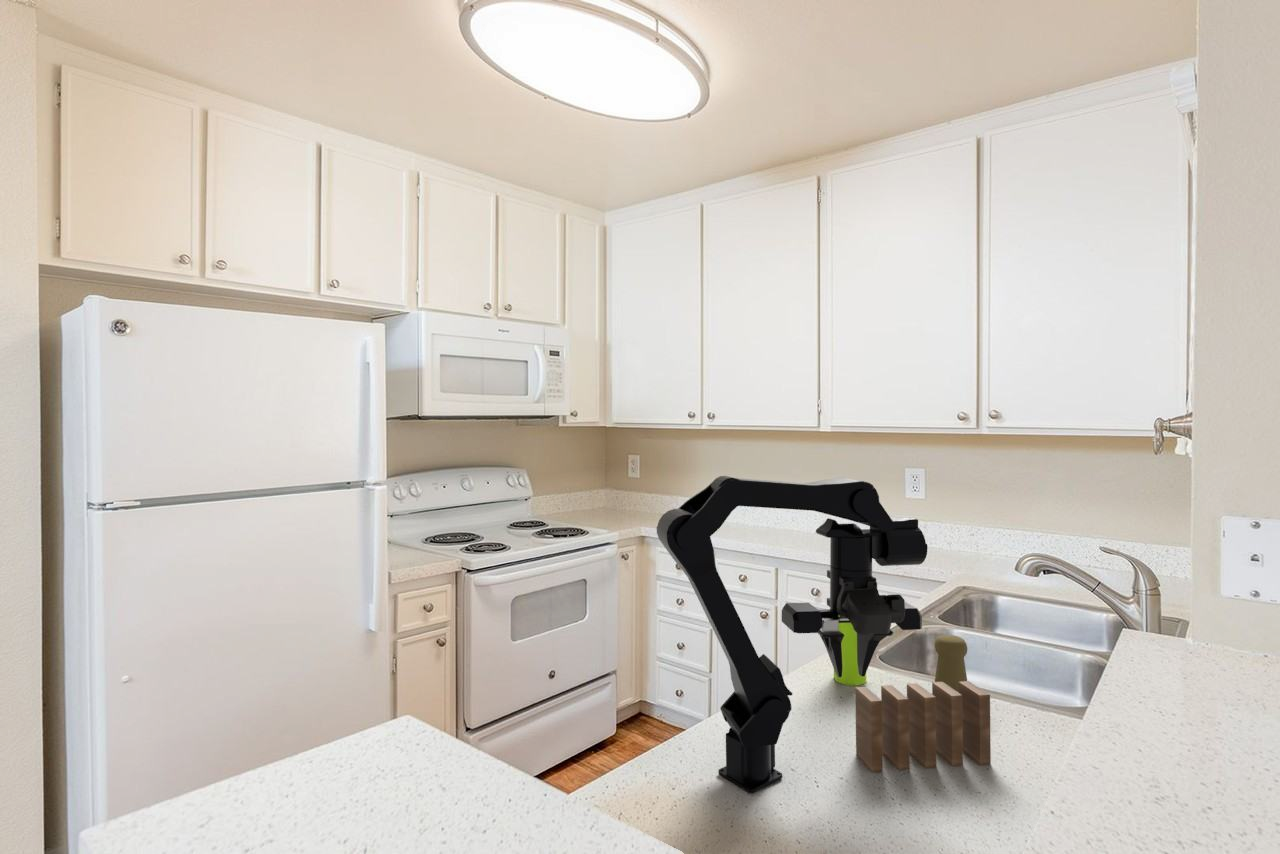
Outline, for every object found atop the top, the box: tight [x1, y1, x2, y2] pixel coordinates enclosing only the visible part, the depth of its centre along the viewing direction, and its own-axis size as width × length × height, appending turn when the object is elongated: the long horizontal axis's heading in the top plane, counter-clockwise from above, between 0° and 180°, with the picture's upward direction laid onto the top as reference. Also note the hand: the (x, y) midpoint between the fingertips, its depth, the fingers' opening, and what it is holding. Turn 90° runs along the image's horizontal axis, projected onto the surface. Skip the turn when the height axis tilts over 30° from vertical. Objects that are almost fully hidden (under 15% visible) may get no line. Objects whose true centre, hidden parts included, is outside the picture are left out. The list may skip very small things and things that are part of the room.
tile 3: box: [906, 682, 938, 769], centre depth 97 cm, size 2×5×10 cm, turn 6°
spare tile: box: [959, 680, 992, 766], centre depth 97 cm, size 2×5×10 cm, turn 7°
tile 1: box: [854, 686, 884, 773], centre depth 96 cm, size 2×5×10 cm, turn 7°
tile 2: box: [880, 684, 911, 771], centre depth 96 cm, size 2×5×10 cm, turn 7°
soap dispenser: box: [833, 615, 867, 686], centre depth 126 cm, size 6×7×20 cm
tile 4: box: [931, 681, 964, 767], centre depth 97 cm, size 2×5×10 cm, turn 6°
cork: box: [934, 634, 968, 693], centre depth 117 cm, size 6×6×11 cm
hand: (850, 676), depth 95 cm, fingers open, 3 cm apart
